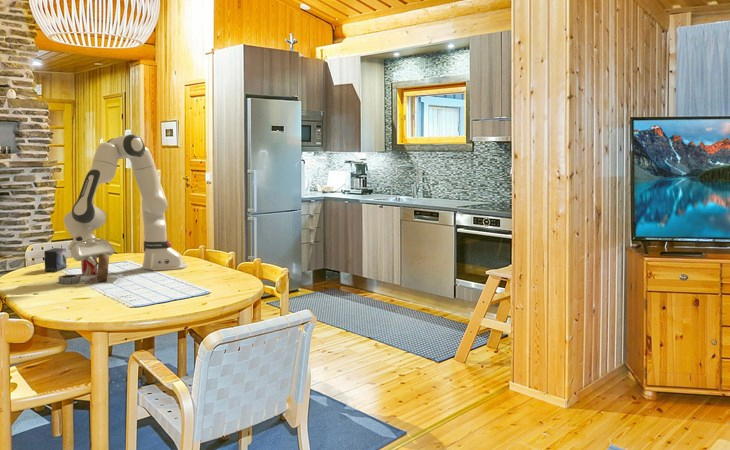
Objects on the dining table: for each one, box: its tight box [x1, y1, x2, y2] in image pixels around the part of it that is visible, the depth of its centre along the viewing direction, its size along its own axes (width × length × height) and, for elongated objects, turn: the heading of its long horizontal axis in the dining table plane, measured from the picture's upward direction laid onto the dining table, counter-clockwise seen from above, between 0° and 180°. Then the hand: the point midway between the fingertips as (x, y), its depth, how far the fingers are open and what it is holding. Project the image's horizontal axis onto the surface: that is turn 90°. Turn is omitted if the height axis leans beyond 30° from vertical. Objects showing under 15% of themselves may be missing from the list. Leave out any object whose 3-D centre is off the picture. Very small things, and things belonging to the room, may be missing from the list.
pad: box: [84, 276, 118, 285], centre depth 292 cm, size 12×12×1 cm
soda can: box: [80, 258, 98, 276], centre depth 307 cm, size 7×7×12 cm
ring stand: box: [54, 274, 85, 287], centre depth 287 cm, size 12×12×4 cm
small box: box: [44, 247, 67, 272], centre depth 321 cm, size 11×6×10 cm, turn 179°
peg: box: [96, 254, 110, 281], centre depth 290 cm, size 4×4×12 cm
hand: (101, 263), depth 291 cm, fingers open, 4 cm apart
